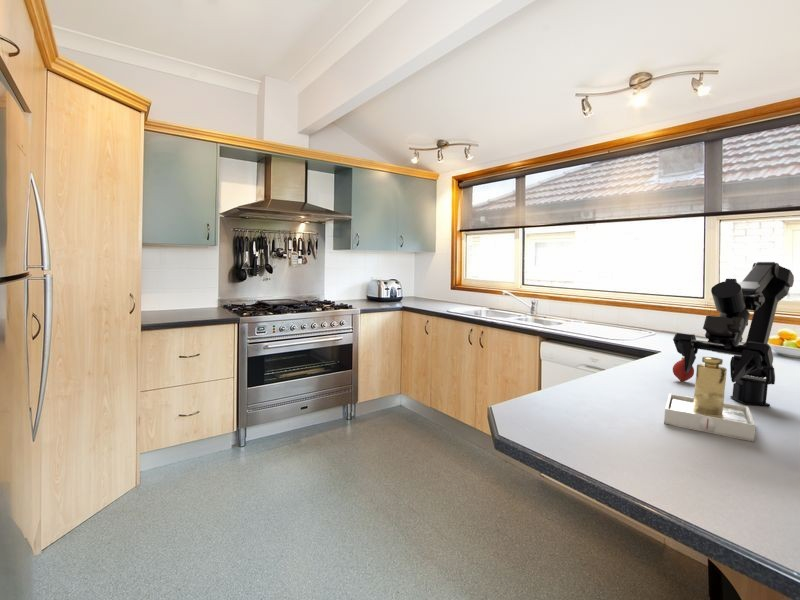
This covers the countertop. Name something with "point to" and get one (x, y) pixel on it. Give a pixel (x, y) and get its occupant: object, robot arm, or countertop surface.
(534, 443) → the countertop surface
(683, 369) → the onion
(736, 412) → the silver square plate
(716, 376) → the weight
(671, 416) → the scale
